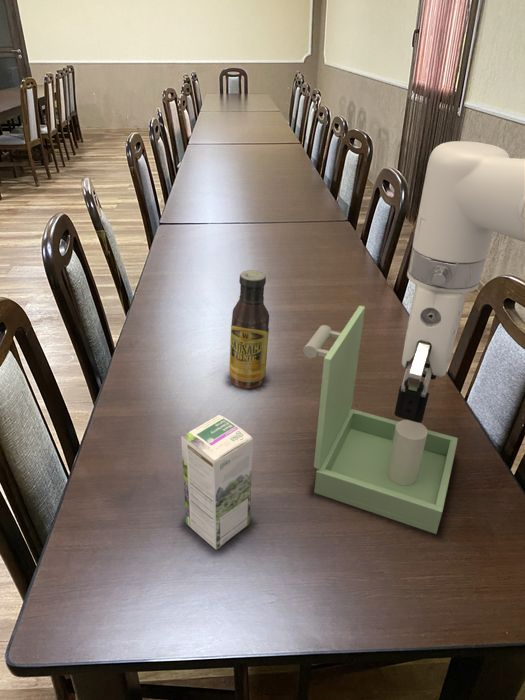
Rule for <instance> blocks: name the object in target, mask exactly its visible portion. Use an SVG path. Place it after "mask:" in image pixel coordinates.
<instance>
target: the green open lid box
mask: <svg viewBox="0 0 525 700" xmlns="http://www.w3.org/2000/svg"><path fill="white" fill-rule="evenodd" d="M398 422H399V421H398V420H393V419H390V418H386V417H383V416H379V415H375V414H372V413H368V412H366V411H365V412H364V411H362V410H357V409H355V408H351V409H350V411H349V413H348V415H347V417H346V418H345V420H344V422H343V424H342V426H341V428H340V430H339V432H338V434H337V436H336V438H335V440H334V442H333V444H332V446H331V448H330V450H329V452H328V454H327V456H326V457H325V459H324V461H323V463H322V465H321V467H320V469H317V468H316V473H315V483H314V491H313V492H314V494H316V495H319V496H323V497H326V498H329V499H331V500H334V501H338V502H341V503H343V504H346V505H349V506H351V507H355V508H358V509H360V510H363V511H367V512H370V513H372V514H376V515H378V516H381V517H384V518H387V519H391V520H393V521H396V522H398V523H402V524H405V525H408V526H411V527H413V528H416V529H419V530H422V531H426V532H428V533H432V534H434V535H437V533H438V530H439V526H440V523H441V520H442V515H443V510H444V507H445V502H446V497H447V493H448V488H449V484H450V478H451V474H452V469H453V464H454V459H455V455H456V450H457V445H458V441H459V438H458V437H455V436H452V435H448V434H444V433H441V432H437V431H433V430H429V429H427V432H428V433H427V437H426V442H425V446H424V450H423V455H422V459H421V463H420V468H419V472H418V476H417V480H416V482H415V483H413V484H411V485H407V486H404V485H399V484H396V483H394V482H393V481H391V480H390V479H389V477H388V475H387V469H388V463H389V458H390V453H391V448H392V443H393V437H394V432H395V427H396V424H397V423H398Z"/></svg>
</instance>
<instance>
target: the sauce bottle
mask: <svg viewBox="0 0 525 700" xmlns="http://www.w3.org/2000/svg"><path fill="white" fill-rule="evenodd" d="M266 282H267V276H266V274H265V273H264V272H262V271H260V270H255V269H247V270H243V271H242V272H240V274H239V285H240V286H239V288H240V291H239V299H238V301H237V302H236V304H235V305H234V307H233V308H232V313H231V316H232V317H231V325H230V344H229V371H228V372H229V379H230V380H229V381H230V382H231V384H233V385H234V386H235V387H237V388H240V389H256V388H258V387H260V386H261V385H262V384H263V383H264V381H265V377H266V373H267V372H266V371H267V358H268V347H269V332H270V328H269V323H270V314H269V311H268V309H267V307H266V306H265V303H264V302H265V301H264V300H265V296H264V294H265V285H266Z"/></svg>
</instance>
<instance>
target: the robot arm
mask: <svg viewBox="0 0 525 700" xmlns="http://www.w3.org/2000/svg"><path fill="white" fill-rule="evenodd" d="M427 161H428V162H427V166H426V172H425V177H424V182H423V187H422V192H421V198H420V203H419V209H418V214H417V218H416V224H415V230H414V235H413V240H412V246H411V252H410V255H409V256H410V257H409V262H408V268H407V272H406V277H407V278H408V280H409V281H410V282H411V283H413V284H414V285H415V288H414V292H413V296H412V302H411V307H410V312H409V317H408V322H407V327H406V333H405V338H404V344H403V351H402V357H401V365H402V367H403V368H404V369H405V372H404V374H403V375H404V376H403V380H402V382H401V385H400V386H399V389H398V393H397V397H396V398H397V399H396V403H395V409H394V416H395V417H396V418H400V419H402V420H410V421H414V422H417V423H421V424H422V423H423V420H424V416H425V413H426V408H427V403H428V400H429V397H430V396H429V395H430V393H429V392H428V389H429V387H430V382H431V380H435V379H437V377H438V378H442V377H444V376H446V374H447V371H448V369H449V365H450V361H451V358H452V355H453V351H454V348H455V344H456V339H457V335H458V332H459V328H460V326H461V325H460V324H461V321H462V316H463V312H464V309H465V304H466V299H467V295H468V293H472V292H474V291H475V290H477V289H478V288H479V287H480V283H481V279H482V275H483V272H484V267H485V264H486V261H487V256H488V253H489V249H490V246H491V241H492V239H493V233H497V234H500V235H503V236H505V237H508V238H511V239H513V240H517V241H519V242H523V243H525V157H524V158H517V157H516V158H515V157H513V158H512V157H510V155H509V154H508V152H507V151H506V150H505V149H504V148H501V147H499V146H498V145H493V144H489V143H485V142H476V141H468V140H467V141H465V140H455V141H454V140H453V141H447V142H443V143H440V144H439V145H437V146H435V147H434V149H433V150H432V151H431V152H430V155H429V158H428V160H427ZM422 378H424V381H422Z"/></svg>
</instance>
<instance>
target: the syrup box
mask: <svg viewBox="0 0 525 700" xmlns="http://www.w3.org/2000/svg"><path fill="white" fill-rule="evenodd" d="M180 441H181V442H180V443H181V458H182V475H183V476H182V477H183V493H184V511H185V513H184V514H185V524H186V525H187V526H188V527H190V529H192V530H193V531H194V532H195V533H196V534H197V535H198V536H199V537H200V538H202V539H203V540H204V541H205V542H206V543H207V544H208V545H210V546H211V547H212V548H213V549H215V550H216V551H217V550H219V549H221V547H223V546H224V545H226V543H228V542H229V541H230V540H232V539H233V538H234V537H235V536H237V535H238V534H239V533H240V532H242V531H243V530H244V529H245V528H247V527H248V526H249V525H250V524H251V505H252V478H253V449H254V438H253V436H251V435H250V434H249V433H247V431H245V430H244V429H242V428H241V427H240V426H238V425H237V424H236V423H234V422H233V421H231V420H230V419H228V418H226V417H225V416H222V415H221V414H217V415H216V416H214V417H212V418H211V419H209V420H207V421H206V422H204V423H202V424H201V425H198V426H197V427H195V428H194V429H192V430H190V431H188V432H186V433H184V434H183V435H181V436H180Z"/></svg>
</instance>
